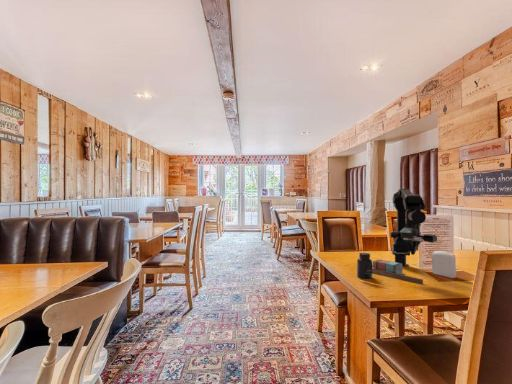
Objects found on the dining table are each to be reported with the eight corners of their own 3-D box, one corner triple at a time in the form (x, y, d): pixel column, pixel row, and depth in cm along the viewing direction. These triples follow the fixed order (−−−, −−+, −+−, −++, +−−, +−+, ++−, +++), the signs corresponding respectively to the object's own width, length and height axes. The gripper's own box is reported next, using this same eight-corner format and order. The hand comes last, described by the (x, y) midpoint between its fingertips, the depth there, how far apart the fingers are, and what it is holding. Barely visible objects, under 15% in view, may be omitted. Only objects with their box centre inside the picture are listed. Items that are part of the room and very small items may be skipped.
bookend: (399, 273, 141) (399, 262, 141) (404, 274, 140) (404, 263, 140) (393, 276, 137) (393, 265, 137) (398, 277, 135) (398, 266, 135)
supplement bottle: (370, 281, 132) (370, 255, 132) (355, 278, 135) (355, 253, 135) (373, 277, 137) (373, 252, 138) (358, 275, 141) (358, 251, 141)
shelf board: (381, 270, 151) (381, 258, 151) (431, 280, 132) (431, 267, 132) (370, 273, 144) (370, 261, 144) (422, 285, 125) (422, 271, 125)
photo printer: (430, 274, 143) (430, 249, 143) (435, 273, 145) (435, 249, 145) (452, 279, 134) (452, 253, 134) (457, 278, 136) (457, 252, 136)
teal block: (391, 272, 144) (391, 261, 144) (399, 274, 141) (399, 263, 141) (385, 274, 140) (385, 263, 141) (393, 276, 137) (393, 264, 137)
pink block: (383, 270, 148) (383, 260, 148) (390, 272, 144) (390, 261, 145) (377, 272, 144) (377, 261, 144) (385, 274, 141) (385, 263, 141)
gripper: (385, 221, 136) (385, 253, 136) (427, 224, 121) (428, 260, 121) (395, 219, 143) (395, 250, 143) (437, 222, 128) (437, 257, 128)
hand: (412, 254), depth 133 cm, fingers closed
